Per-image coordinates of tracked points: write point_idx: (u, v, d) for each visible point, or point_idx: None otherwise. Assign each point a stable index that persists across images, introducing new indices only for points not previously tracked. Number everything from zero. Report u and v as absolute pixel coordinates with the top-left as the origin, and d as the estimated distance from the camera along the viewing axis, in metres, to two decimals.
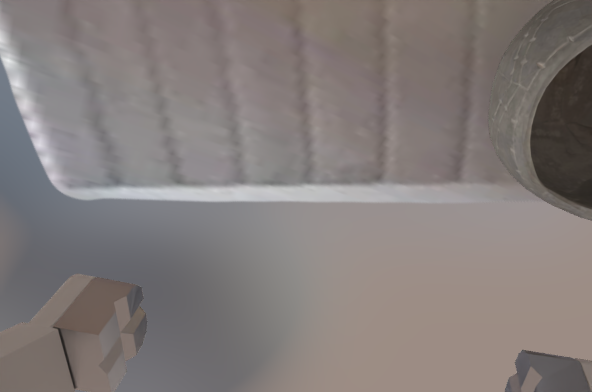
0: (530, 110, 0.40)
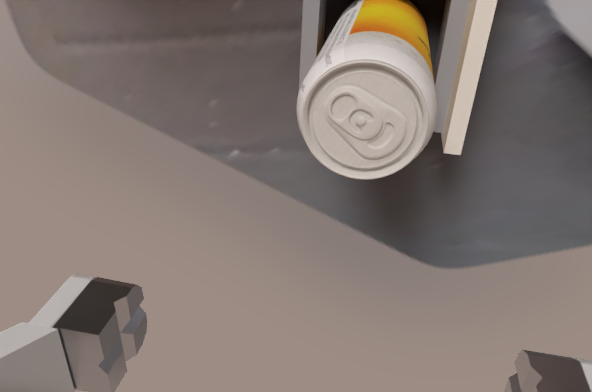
0: None
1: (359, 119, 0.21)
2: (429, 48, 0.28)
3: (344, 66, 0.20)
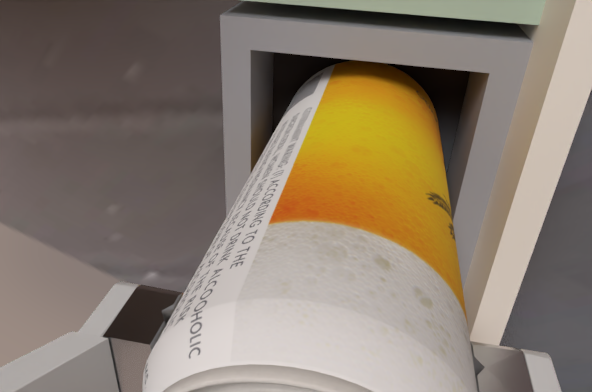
0: None
1: None
2: None
3: (228, 381, 0.07)
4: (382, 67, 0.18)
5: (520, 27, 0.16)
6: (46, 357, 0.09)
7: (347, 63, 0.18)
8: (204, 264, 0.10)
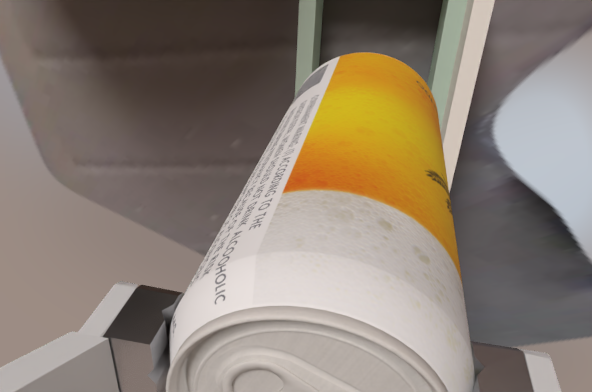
0: None
1: None
2: None
3: (251, 320, 0.08)
4: (384, 59, 0.19)
5: None
6: (46, 357, 0.09)
7: (351, 55, 0.19)
8: (224, 230, 0.11)
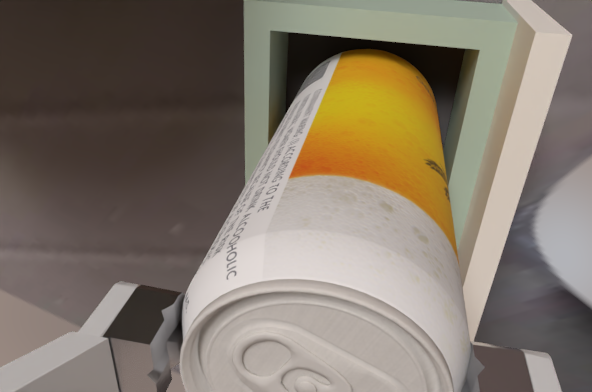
0: None
1: (303, 385, 0.10)
2: (443, 157, 0.16)
3: (261, 293, 0.09)
4: (385, 55, 0.20)
5: None
6: (46, 357, 0.09)
7: (353, 51, 0.20)
8: (232, 214, 0.12)
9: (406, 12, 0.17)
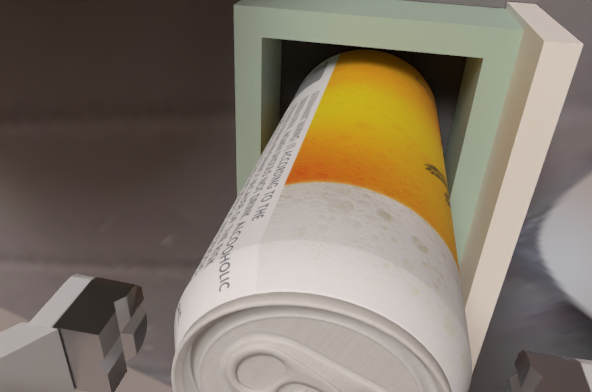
0: None
1: None
2: (443, 161, 0.16)
3: (254, 306, 0.08)
4: (384, 56, 0.19)
5: None
6: None
7: (351, 52, 0.20)
8: (227, 222, 0.11)
9: (405, 18, 0.17)
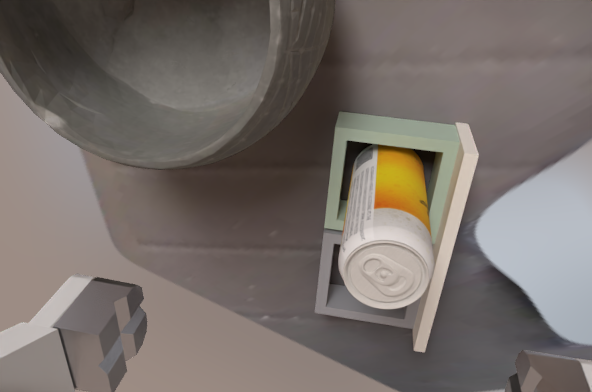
0: None
1: (383, 274, 0.31)
2: (426, 197, 0.38)
3: (374, 243, 0.30)
4: None
5: None
6: None
7: None
8: (353, 221, 0.33)
9: (410, 135, 0.39)
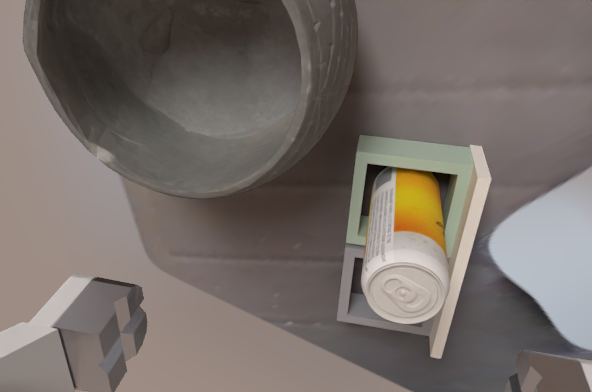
0: None
1: (402, 292, 0.34)
2: (442, 216, 0.41)
3: (394, 265, 0.33)
4: None
5: None
6: None
7: None
8: (374, 242, 0.36)
9: (427, 159, 0.41)
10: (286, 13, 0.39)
